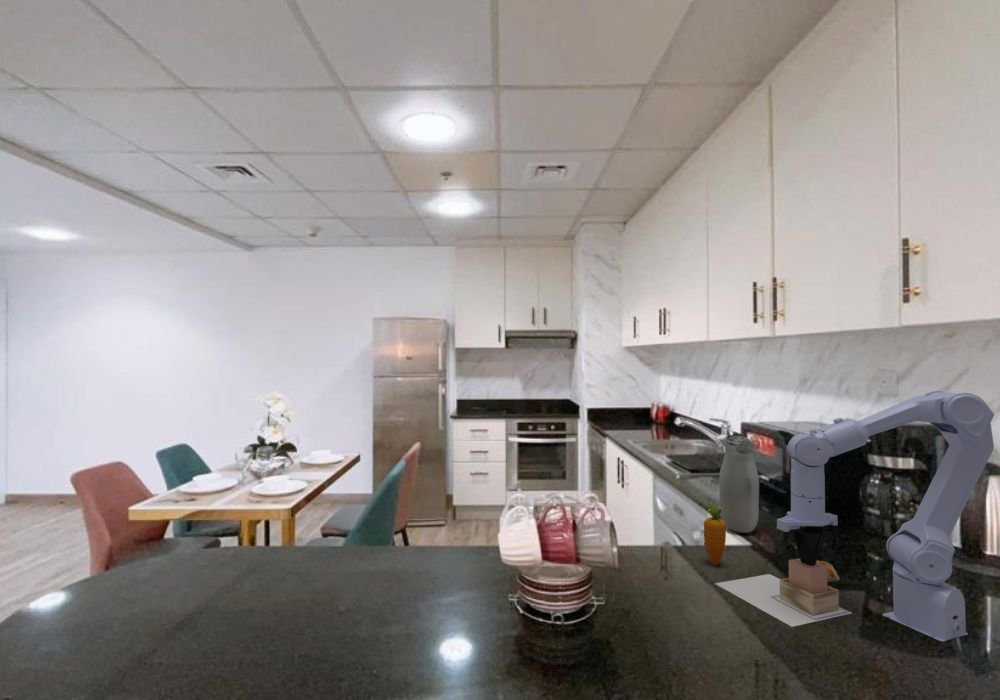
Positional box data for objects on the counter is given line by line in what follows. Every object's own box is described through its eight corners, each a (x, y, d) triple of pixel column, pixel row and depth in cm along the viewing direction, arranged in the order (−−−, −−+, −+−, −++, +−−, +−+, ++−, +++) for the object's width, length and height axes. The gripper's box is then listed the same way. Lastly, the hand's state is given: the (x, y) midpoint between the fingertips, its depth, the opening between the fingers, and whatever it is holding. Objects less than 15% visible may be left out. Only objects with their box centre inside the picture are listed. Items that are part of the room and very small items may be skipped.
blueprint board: (852, 616, 89) (852, 612, 89) (791, 630, 84) (791, 626, 84) (769, 576, 106) (769, 573, 106) (714, 586, 101) (714, 583, 101)
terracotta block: (827, 592, 91) (827, 566, 91) (810, 595, 90) (810, 569, 90) (805, 582, 95) (804, 557, 96) (788, 585, 94) (788, 560, 94)
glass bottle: (712, 527, 140) (712, 434, 142) (739, 524, 143) (739, 433, 145) (738, 538, 131) (738, 438, 132) (766, 535, 134) (766, 438, 135)
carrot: (729, 572, 108) (728, 507, 109) (706, 570, 109) (706, 505, 110) (723, 563, 113) (723, 501, 114) (701, 561, 114) (701, 499, 115)
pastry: (811, 589, 101) (811, 571, 101) (783, 576, 107) (783, 559, 107) (842, 584, 104) (841, 566, 104) (813, 571, 110) (812, 555, 110)
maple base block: (838, 610, 90) (838, 590, 90) (813, 616, 88) (813, 595, 88) (804, 593, 97) (804, 575, 97) (779, 598, 94) (779, 579, 95)
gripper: (813, 488, 100) (814, 552, 99) (763, 492, 95) (763, 560, 94) (848, 496, 93) (848, 565, 92) (795, 501, 88) (796, 574, 87)
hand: (808, 564), depth 93 cm, fingers closed, pressing on terracotta block
